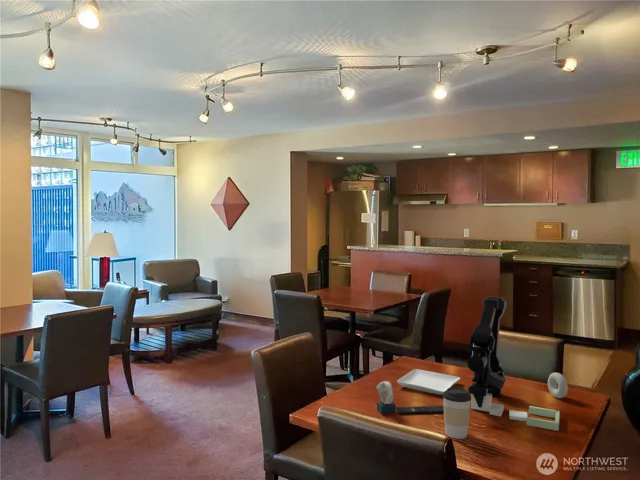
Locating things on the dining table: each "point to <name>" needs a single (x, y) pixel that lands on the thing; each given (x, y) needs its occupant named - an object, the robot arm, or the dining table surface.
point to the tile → (518, 415)
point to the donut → (562, 385)
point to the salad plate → (428, 381)
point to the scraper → (488, 405)
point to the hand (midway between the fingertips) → (480, 406)
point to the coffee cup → (456, 412)
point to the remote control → (420, 410)
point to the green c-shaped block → (541, 422)
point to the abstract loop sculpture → (386, 403)
